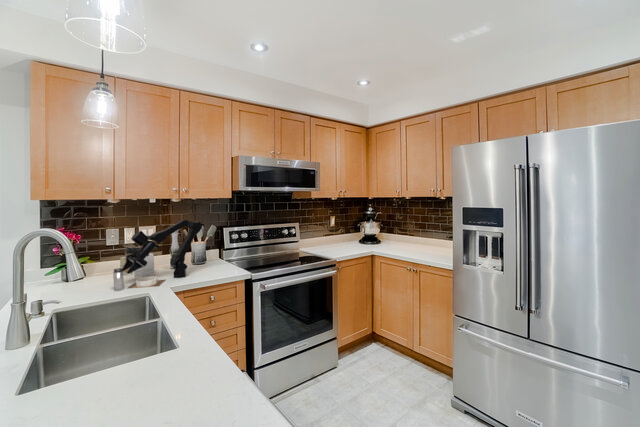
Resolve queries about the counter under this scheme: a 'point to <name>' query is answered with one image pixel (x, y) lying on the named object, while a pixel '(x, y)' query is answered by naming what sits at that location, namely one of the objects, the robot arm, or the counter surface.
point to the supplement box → (146, 267)
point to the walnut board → (147, 286)
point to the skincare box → (122, 263)
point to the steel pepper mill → (118, 279)
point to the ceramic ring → (146, 281)
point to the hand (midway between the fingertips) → (124, 272)
